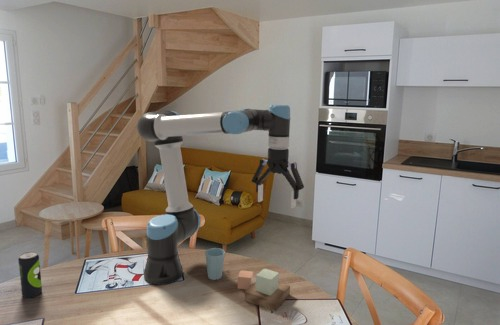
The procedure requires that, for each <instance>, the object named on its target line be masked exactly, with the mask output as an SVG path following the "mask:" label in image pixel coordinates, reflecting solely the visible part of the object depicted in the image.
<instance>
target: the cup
mask: <svg viewBox="0 0 500 325" xmlns="http://www.w3.org/2000/svg"><path fill="white" fill-rule="evenodd" d="M204 254H205V262H206V269H207V270H206V272H207V277H208V279H210V280H212V281H215V280H216V279H217V280H220V279H222V277H223V271H224V270H223V269H224V263H225V254H226V252H225V250H224V249H223V248H218V247H217V248H216V247H212V248H208V249H206V251H205V253H204Z"/></svg>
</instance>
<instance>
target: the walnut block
mask: <svg viewBox="0 0 500 325" xmlns="http://www.w3.org/2000/svg"><path fill="white" fill-rule="evenodd" d="M290 292H291V285H288V284H285V283H281V282H279V288H278V289H277V290H276V291H275V292H274V293H273V294H272V295H271V296H270V295H267V294H264V293H261V292H258V291H256V281H255V282H253V285H252V286H251V287H250V288H249V289H248V290H245V291H244V301H245V302H248V303H251V304H254V305H257V306H259V307H262V308H265V309H268V310H271V311H274V312H276V311H277V310H278V309H279V308H280V307H281V305H283V303H284V302H285V301H286V300H287V298H288V297H290V294H291V293H290Z"/></svg>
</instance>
